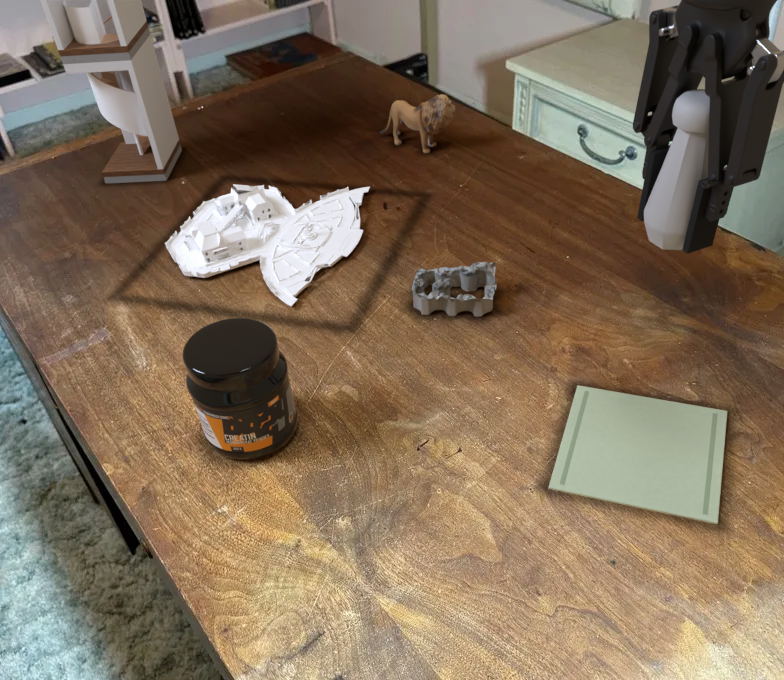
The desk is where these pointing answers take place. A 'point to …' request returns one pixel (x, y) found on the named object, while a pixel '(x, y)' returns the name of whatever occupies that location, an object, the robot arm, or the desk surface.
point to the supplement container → (240, 388)
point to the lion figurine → (421, 118)
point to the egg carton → (457, 276)
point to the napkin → (643, 453)
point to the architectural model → (269, 236)
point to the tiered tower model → (120, 81)
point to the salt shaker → (680, 172)
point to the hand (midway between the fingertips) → (673, 230)
